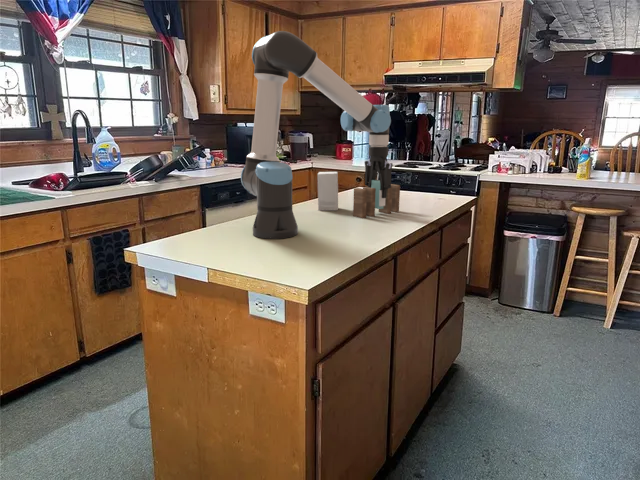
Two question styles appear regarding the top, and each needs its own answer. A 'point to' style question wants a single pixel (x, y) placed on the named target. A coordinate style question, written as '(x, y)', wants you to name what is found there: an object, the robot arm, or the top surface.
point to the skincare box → (327, 190)
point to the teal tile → (376, 185)
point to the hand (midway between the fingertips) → (377, 204)
